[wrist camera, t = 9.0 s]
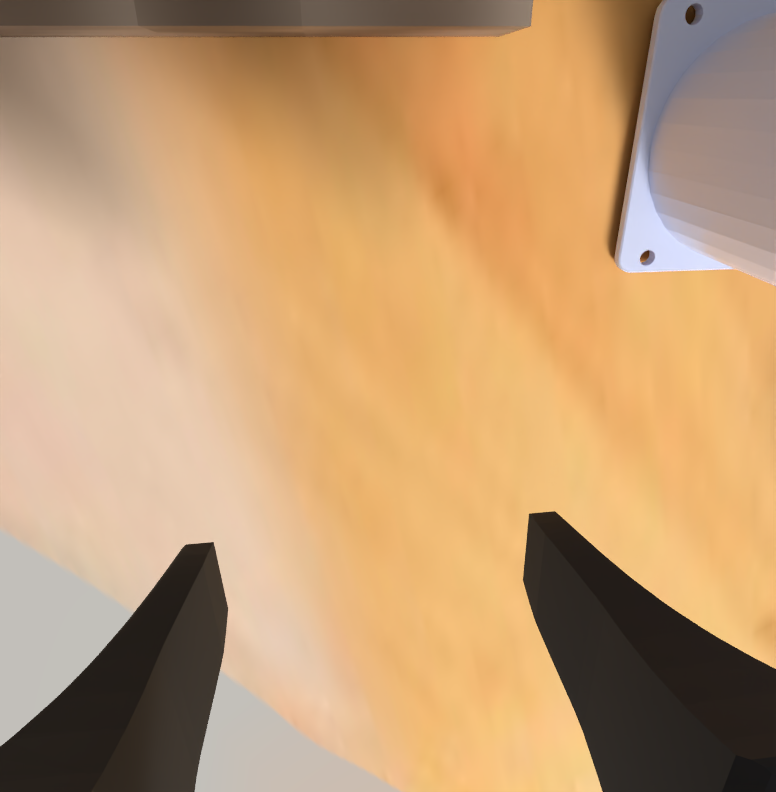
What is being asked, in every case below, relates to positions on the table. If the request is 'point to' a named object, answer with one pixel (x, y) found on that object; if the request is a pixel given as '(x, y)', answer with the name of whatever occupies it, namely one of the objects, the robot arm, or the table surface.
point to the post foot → (262, 18)
